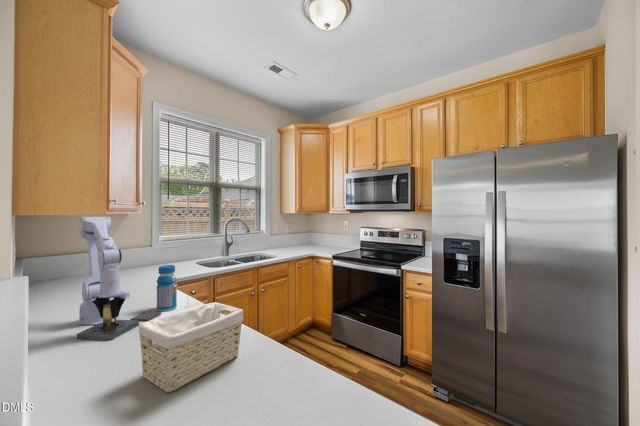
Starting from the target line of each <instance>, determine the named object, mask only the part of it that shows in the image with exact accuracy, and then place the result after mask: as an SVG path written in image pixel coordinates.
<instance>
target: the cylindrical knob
mask: <svg viewBox="0 0 640 426" xmlns="http://www.w3.org/2000/svg"><path fill="white" fill-rule="evenodd" d="M116 320H117V317H116V318H112V309H111V305H110V303H105V304H103V327H110V326H114V325H116Z"/></svg>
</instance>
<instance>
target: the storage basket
mask: <svg viewBox="0 0 640 426" xmlns="http://www.w3.org/2000/svg"><path fill="white" fill-rule="evenodd" d="M221 315H224V316H221ZM243 320H244V310H243V309H242V308H238V307H235V306H233V305H228V304H223V303H221V302H215V301H214V302H211V303H204V304H201V305H197V306H194V307H191V308H187V309H184V310H179V311H177V312H173V313H169V314H166V315H162V316H158V317H155V318H153V319H152V320H150V321H144V322H142V323H139V325H138V334H139V341H140V343H139V344H140V349H141V350H140V351H141V353H140V354H141V362H142V363H141V370H142V376H143V378H145V379H146V380H147V381H149V382H150V383H152V384H154V385H155V386H156V387H158V388H160V389H161V390H163V391H165V392H167V393H172V392H174V391H176V390H178V389H180V388H182V387H183V386H185V385H187V384H189V383H190V382H193V381H194V380H196V379H198V378H200V377H201V376H202V377H203V375H205V374H208V372H212V371H213V370H214V371H215V370H216V369H218V368H219V367H221V366H224V364H226V363H228V362H230V361H232V360H233V359H235V358H237V357H239V348H240V343H241V342H240V341H241V333H242V332H241V330H242V324H243Z"/></svg>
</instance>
